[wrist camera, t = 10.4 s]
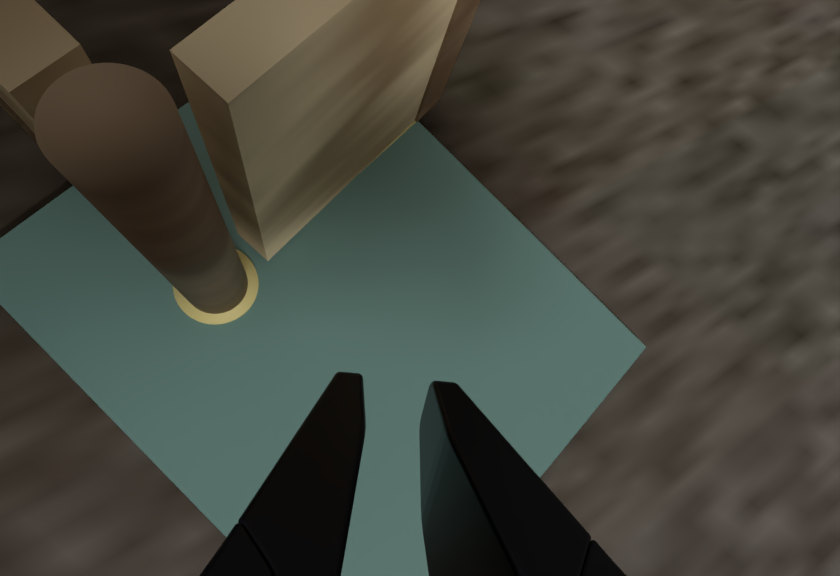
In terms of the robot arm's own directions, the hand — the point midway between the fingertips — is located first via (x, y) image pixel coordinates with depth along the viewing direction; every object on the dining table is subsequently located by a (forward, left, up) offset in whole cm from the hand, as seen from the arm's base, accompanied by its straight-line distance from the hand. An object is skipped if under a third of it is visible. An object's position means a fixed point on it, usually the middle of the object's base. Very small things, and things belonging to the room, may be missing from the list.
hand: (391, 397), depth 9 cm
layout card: (+2, -2, -8) cm, 9 cm away
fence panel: (+6, -5, -8) cm, 11 cm away
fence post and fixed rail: (+8, 0, -8) cm, 12 cm away
